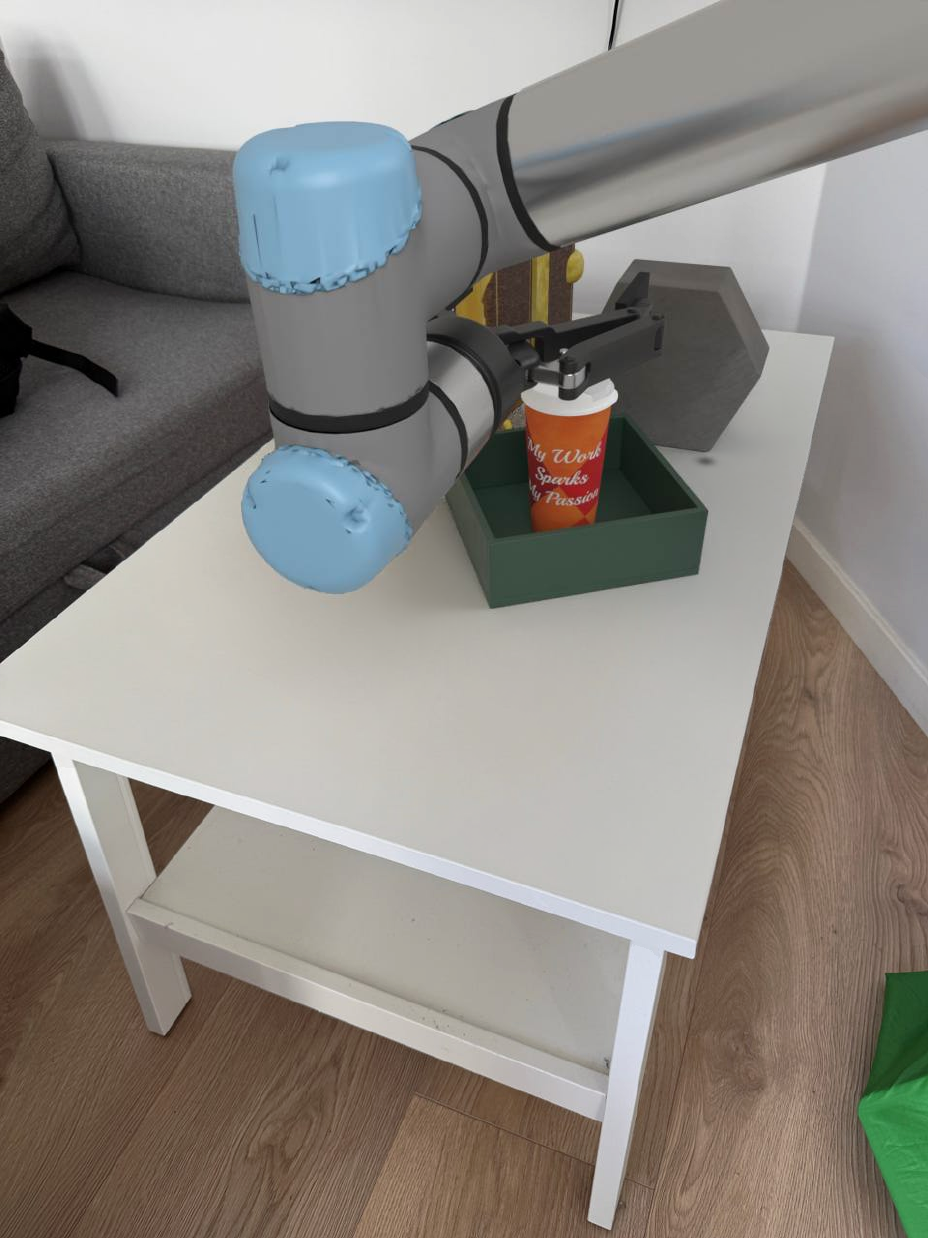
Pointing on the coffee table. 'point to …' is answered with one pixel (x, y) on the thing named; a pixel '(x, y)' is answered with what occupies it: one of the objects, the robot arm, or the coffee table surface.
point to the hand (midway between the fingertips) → (553, 281)
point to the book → (526, 292)
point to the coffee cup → (566, 453)
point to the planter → (691, 355)
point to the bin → (582, 555)
